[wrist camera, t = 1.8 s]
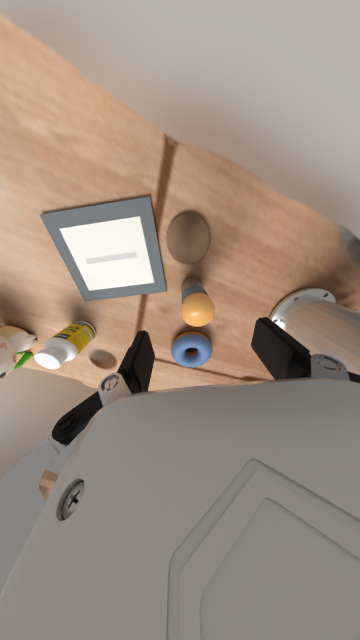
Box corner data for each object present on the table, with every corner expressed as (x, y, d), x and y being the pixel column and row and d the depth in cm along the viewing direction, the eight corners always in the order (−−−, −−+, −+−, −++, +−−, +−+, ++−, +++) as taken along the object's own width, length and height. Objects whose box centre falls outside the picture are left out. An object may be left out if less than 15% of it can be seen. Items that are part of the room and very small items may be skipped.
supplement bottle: (88, 317, 29) (50, 347, 20) (100, 336, 31) (71, 370, 23) (67, 322, 29) (21, 352, 21) (81, 340, 32) (45, 374, 23)
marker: (201, 275, 24) (215, 294, 15) (202, 296, 26) (214, 324, 17) (180, 278, 24) (180, 298, 15) (182, 298, 26) (183, 327, 17)
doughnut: (192, 365, 36) (194, 378, 32) (163, 347, 34) (161, 359, 29) (217, 341, 33) (223, 352, 29) (187, 320, 30) (189, 328, 26)
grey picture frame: (150, 197, 19) (149, 196, 18) (166, 290, 26) (166, 291, 25) (42, 215, 20) (38, 214, 19) (86, 300, 27) (84, 301, 26)
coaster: (208, 210, 19) (209, 209, 19) (209, 260, 23) (209, 261, 22) (163, 217, 20) (163, 216, 19) (170, 265, 23) (170, 266, 23)
